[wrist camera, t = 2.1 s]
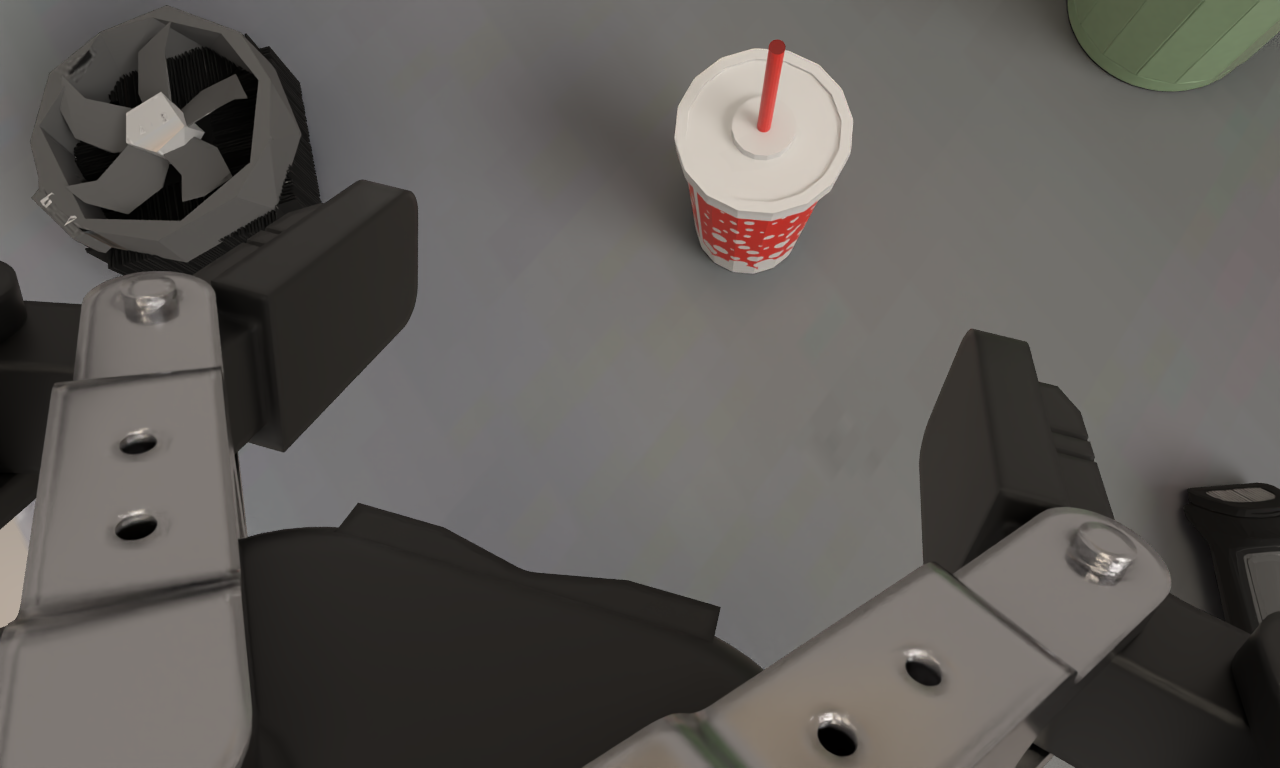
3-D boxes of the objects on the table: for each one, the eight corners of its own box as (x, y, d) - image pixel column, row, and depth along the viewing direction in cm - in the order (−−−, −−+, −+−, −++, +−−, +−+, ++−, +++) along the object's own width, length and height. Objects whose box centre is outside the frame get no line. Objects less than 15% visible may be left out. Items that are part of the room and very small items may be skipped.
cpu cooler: (251, -21, 36) (290, 205, 34) (310, 55, 42) (346, 253, 40) (9, 41, 36) (33, 269, 34) (100, 109, 42) (125, 308, 40)
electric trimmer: (1244, 903, 33) (1302, 941, 30) (1171, 489, 36) (1216, 484, 33) (1347, 897, 33) (1416, 935, 30) (1265, 482, 36) (1321, 476, 33)
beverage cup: (843, 250, 39) (925, 84, 25) (719, 314, 38) (733, 183, 25) (775, 136, 40) (818, -83, 26) (654, 198, 40) (633, 10, 26)
